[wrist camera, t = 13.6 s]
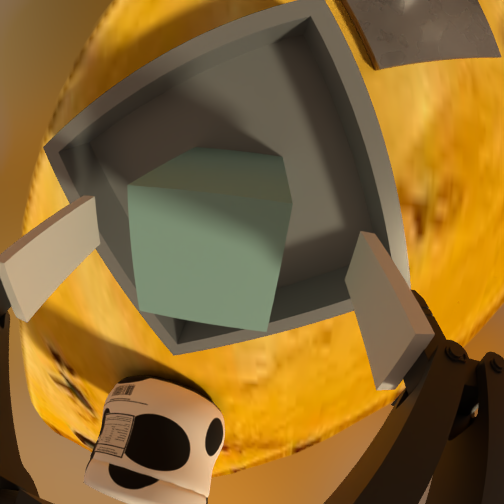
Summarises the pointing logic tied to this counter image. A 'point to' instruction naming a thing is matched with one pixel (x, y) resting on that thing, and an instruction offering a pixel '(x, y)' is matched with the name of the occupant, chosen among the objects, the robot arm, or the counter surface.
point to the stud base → (421, 30)
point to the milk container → (156, 443)
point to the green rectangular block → (210, 236)
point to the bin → (247, 140)
